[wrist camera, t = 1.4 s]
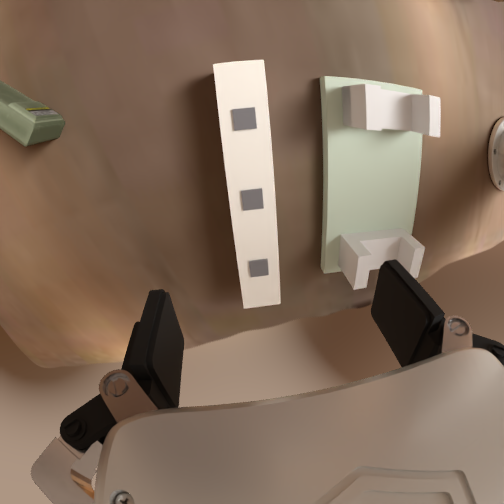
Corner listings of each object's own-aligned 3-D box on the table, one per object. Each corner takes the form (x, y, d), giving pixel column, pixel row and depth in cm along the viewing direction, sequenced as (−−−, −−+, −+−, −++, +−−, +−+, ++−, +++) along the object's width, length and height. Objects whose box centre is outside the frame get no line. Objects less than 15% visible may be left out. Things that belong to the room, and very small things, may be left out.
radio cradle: (414, 89, 23) (451, 91, 17) (400, 255, 34) (425, 282, 28) (319, 77, 23) (345, 70, 17) (320, 267, 33) (338, 299, 28)
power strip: (256, 68, 22) (264, 59, 18) (273, 278, 34) (280, 304, 29) (215, 72, 22) (213, 63, 18) (241, 282, 34) (244, 309, 29)
